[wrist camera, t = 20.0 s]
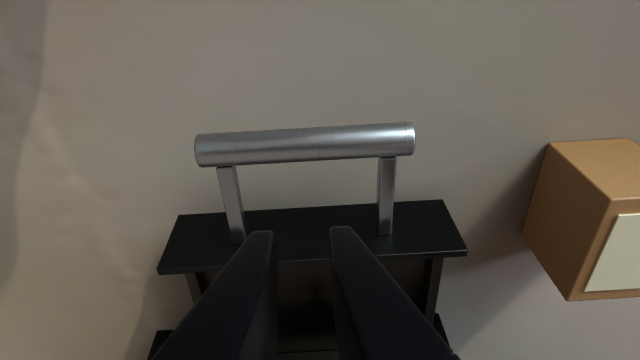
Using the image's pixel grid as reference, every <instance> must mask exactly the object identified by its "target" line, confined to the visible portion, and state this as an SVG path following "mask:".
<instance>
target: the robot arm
mask: <svg viewBox="0 0 640 360" xmlns="http://www.w3.org/2000/svg"><path fill="white" fill-rule="evenodd" d="M329 243H330V265H331V278H332V292H333V305H334V319H335V330H336V339H337V345H338V351H339V356H340V360H461V359H460V358H459V357H458V356H457V355H456V354H453V350H452V349H451V348H450V346H449V345H448V344H447V343H446V342H445V340H444V339H443V338H442V337H441V336H440V334H439V333H438V332H437V331H436V330H435V328H434V327H433V326H432V325H431V323H430V322H429V321H428V320H427V319H426V317H425V316H424V315H423V314H422V313H421V311H420V310H419V309H418V308H417V307H416V305H415V304H414V303H413V302H412V301H411V299H410V298H409V297H408V296H407V294H406V293H405V292H404V291H403V290H402V288H401V287H400V286H399V285H398V284H397V282H396V281H395V280H394V279H393V278H392V276H391V275H390V274H389V273H388V271H387V270H386V269H385V268H384V267H383V265H382V264H381V263H380V262H379V261H378V259H377V258H376V257H375V256H374V255H373V253H372V252H371V251H370V250H369V249H368V247H367V246H366V245H365V244H364V242H363V241H362V240H361V239H360V238H359V236H358V235H357V234H356V233H355V232H354V230H353V229H352V228H351V227H350V226H335V227H331V228H330V229H329ZM277 342H278V258H277V251H276V244H275V237H274V233H273V232H272V231H270V230H269V231H255V232H252V233H251V234H250V235H249V237H248V238H247V239H246V240H245V242H244V243H243V244H242V245H241V247H240V248H239V249H238V250H237V252H236V253H235V254H234V255H233V257H232V258H231V259H230V260H229V262H228V263H227V264H226V266H225V267H224V268H223V269H222V271H221V272H220V273H219V274H218V276H217V277H216V278H215V279H214V281H213V282H212V283H211V284H210V286H209V287H208V288H207V289H206V291H205V292H204V293H203V295H202V296H201V297H200V298H199V300H198V301H197V302H196V303H195V305H194V306H193V307H192V308H191V310H190V311H189V312H188V313H187V315H186V316H185V317H184V319H183V320H182V321H181V322H180V324H179V325H178V326H177V327H176V329H175V330H174V331H173V332H172V334H171V335H170V336H169V337H168V339H167V340H166V341H165V342H164V344H163V345H162V346H161V348H160V349H159V350H158V351H157V353H156V354H155V355H154V356H153V358H152V359H151V360H276V352H277Z"/></svg>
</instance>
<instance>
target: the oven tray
mask: <svg viewBox="0 0 640 360" xmlns="http://www.w3.org/2000/svg"><path fill="white" fill-rule="evenodd" d="M415 142H416V140H415V130H414V127H413V124H412V123H411V122H402V123H384V124H367V125H350V126H332V127H315V128H297V129H280V130H263V131H245V132H228V133H211V134H198V135H197V136H196V138H195V142H194V152H195V158H196V161H197V164H198V166H199V167H217V168H216V171H217V175H218V180H219V184H220V189H221V194H222V198H223V203H224V208H225V212H222V213H205V214H188V215H178V218H177V220H176V223H175V225H174V228H173V230H172V233H171V235H170V238H169V240H168V242H167V245H166V247H165V250H164V252H163V255H162V257H161V260H160V262H159V265H158V267H157V272H158V275H170V274H185V277H186V280H187V283H188V286H189V289H190V292H191V296H192V299H193V302H194V305H195V303H196V302H197V301H198V300H199V298H200V297H201V296H202V295H203V293H204V292H205V291H206V289H207V288H208V287H209V286H210V284H211V283H212V282H213V281H214V279H215V278H216V277H217V276H218V274H219V273H220V272H221V271H222V269H223V268H224V267H225V266H226V264H227V263H228V262H229V260H230V259H231V258H232V257H233V255H234V254H235V253H236V252H237V250H238V249H239V248H240V247H241V245H242V244H243V243H244V242H245V240H246V239H247V238H248V237H249V235H250V234H251V233H252V232H255V231H269V230H270V231H272V232H273V233H274V237H275V244H276V251H277V258H278V342H277V352H276V360H340V356H339V351H338V345H337V339H336V330H335V319H334V305H333V292H332V278H331V265H330V243H329V229H330V228H331V227H335V226H350V227H351V228H352V229H353V230H354V232H355V233H356V234H357V235H358V236H359V238H360V239H361V240H362V241H363V242H364V244H365V245H366V246H367V247H368V249H369V250H370V251H371V252H372V253H373V255H374V256H375V257H376V258H377V259H378V261H379V262H380V263H381V264H382V265H383V267H384V268H385V269H386V270H387V271H388V273H389V274H390V275H391V276H392V278H393V279H394V280H395V281H396V282H397V284H398V285H399V286H400V287H401V288H402V290H403V291H404V292H405V293H406V294H407V296H408V297H409V298H410V299H411V301H412V302H413V303H414V304H415V305H416V307H417V308H418V309H419V310H420V311H421V313H422V314H423V315H424V316H425V317H426V319H427V320H428V321H429V322H430V323H431V325H433V319H434V313H435V307H436V301H437V296H438V290H439V284H440V278H441V272H442V266H443V260H444V258H448V257H464V256H467V253H468V249H467V247H466V245H465V243H464V241H463V239H462V237H461V235H460V233H459V231H458V229H457V227H456V225H455V223H454V221H453V219H452V217H451V215H450V213H449V211H448V209H447V207H446V205H445V203H444V201H443V200H442V199H440V200H423V201H407V202H394V190H395V176H396V162H397V158H396V156H407V155H412V154H413V153H414V150H415ZM373 157H378V176H377V200H376V203H373V204H356V205H339V206H323V207H306V208H289V209H272V210H256V211H244V210H243V204H242V199H241V193H240V188H239V183H238V177H237V172H236V165H253V164H270V163H288V162H305V161H322V160H339V159H356V158H373Z"/></svg>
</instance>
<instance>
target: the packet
mask: <svg viewBox="0 0 640 360" xmlns="http://www.w3.org/2000/svg"><path fill="white" fill-rule="evenodd" d="M521 236H522V238H523V239H524V241H525V242H526V244H527V245H528V246H529V248H530V249H531V251H532V252H533V254H534V255H535V257H536V258H537V259H538V261H539V262H540V264H541V265H542V267H543V268H544V270H545V271H546V272H547V274H548V275H549V277H550V278H551V280H552V281H553V283H554V284H555V286H556V287H557V288H558V290H559V291H560V293H561V294H562V296H563V297H564V299H565V300H566V301H582V300H598V299H615V298H631V297H640V145H639V144H637V143H636V142H634V141H633V140H631V139H630V138H623V139H606V140H589V141H571V142H554V143H548V146H547V149H546V153H545V156H544V159H543V163H542V166H541V169H540V173H539V176H538V179H537V183H536V186H535V189H534V193H533V196H532V199H531V203H530V206H529V209H528V213H527V216H526V219H525V223H524V226H523V229H522V232H521Z"/></svg>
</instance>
